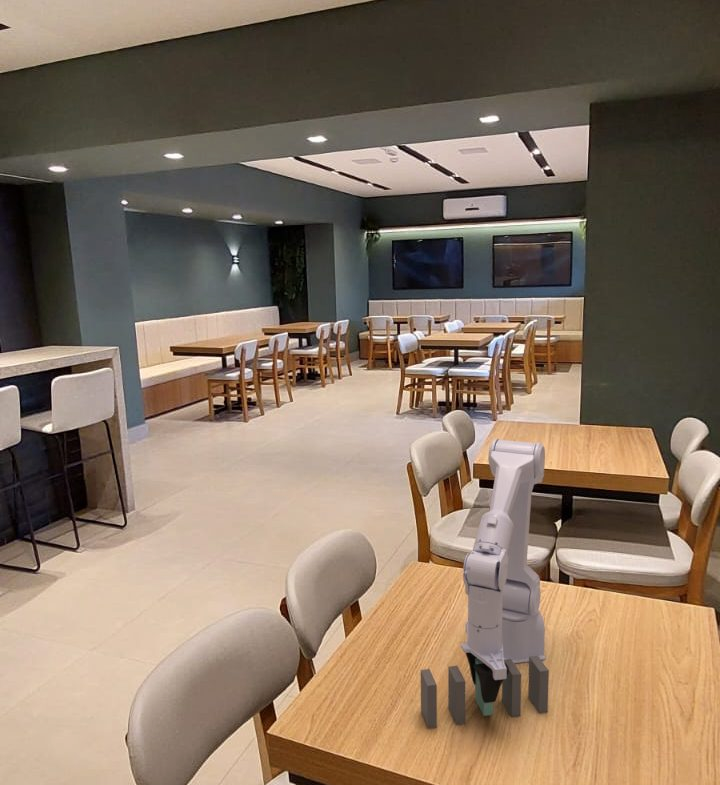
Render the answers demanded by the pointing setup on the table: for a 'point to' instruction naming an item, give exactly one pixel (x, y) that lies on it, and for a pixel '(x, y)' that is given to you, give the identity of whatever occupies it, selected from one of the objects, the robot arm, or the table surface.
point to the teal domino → (485, 707)
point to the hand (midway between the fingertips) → (484, 691)
